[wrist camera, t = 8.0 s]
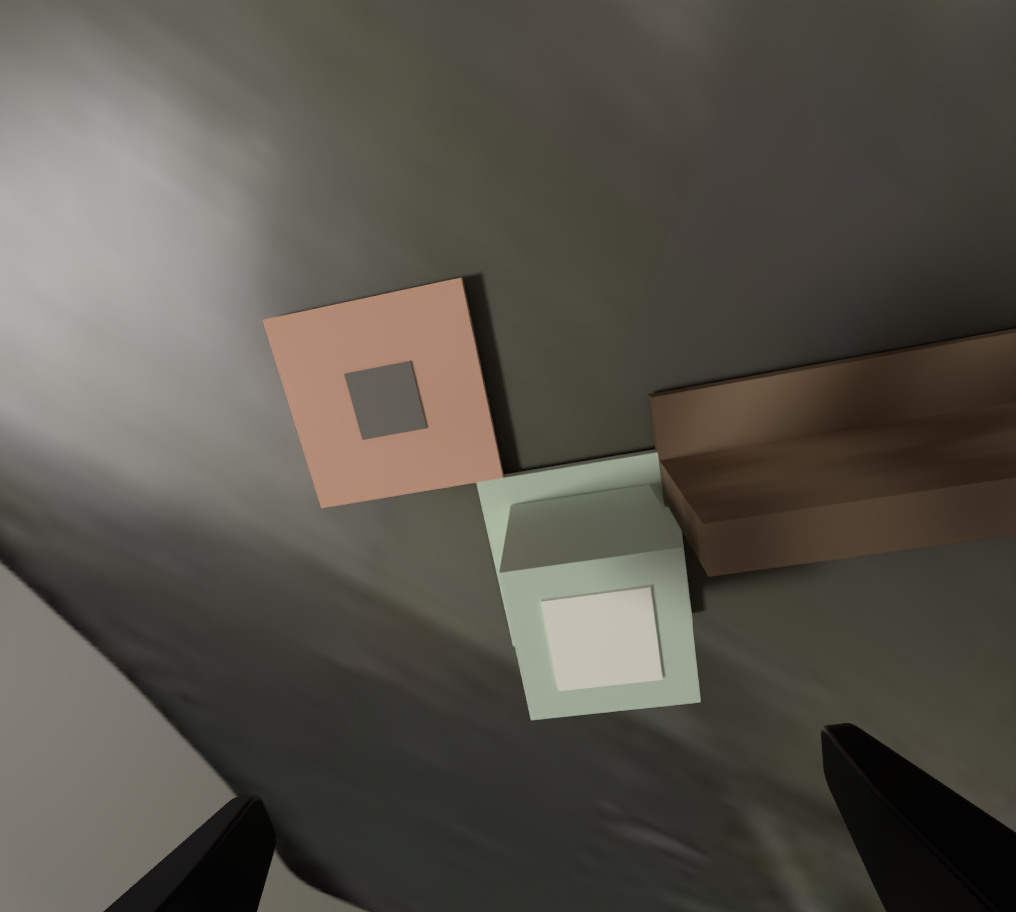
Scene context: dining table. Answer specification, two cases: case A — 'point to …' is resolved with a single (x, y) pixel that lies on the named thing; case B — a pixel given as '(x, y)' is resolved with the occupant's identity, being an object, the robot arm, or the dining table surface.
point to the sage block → (598, 604)
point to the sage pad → (566, 491)
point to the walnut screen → (844, 456)
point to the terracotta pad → (388, 394)
